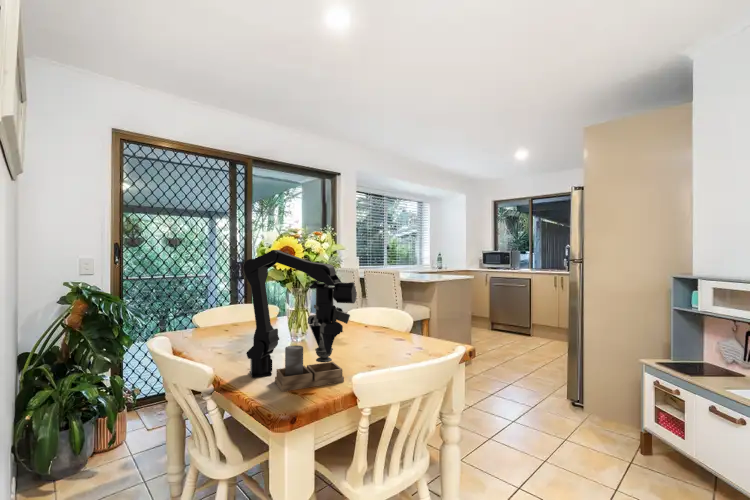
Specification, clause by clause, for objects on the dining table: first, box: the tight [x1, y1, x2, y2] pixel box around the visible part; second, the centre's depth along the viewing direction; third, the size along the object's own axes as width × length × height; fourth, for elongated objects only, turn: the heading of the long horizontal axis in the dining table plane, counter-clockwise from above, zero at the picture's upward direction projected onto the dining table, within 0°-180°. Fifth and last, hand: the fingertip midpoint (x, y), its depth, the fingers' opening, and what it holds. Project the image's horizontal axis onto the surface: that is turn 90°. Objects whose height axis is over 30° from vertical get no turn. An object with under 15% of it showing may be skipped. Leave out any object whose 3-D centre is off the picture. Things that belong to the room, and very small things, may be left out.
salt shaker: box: [314, 329, 334, 363], centre depth 124 cm, size 6×6×12 cm
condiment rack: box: [274, 345, 345, 393], centre depth 122 cm, size 20×10×12 cm, turn 116°
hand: (324, 349), depth 124 cm, fingers closed on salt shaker, 8 cm apart
